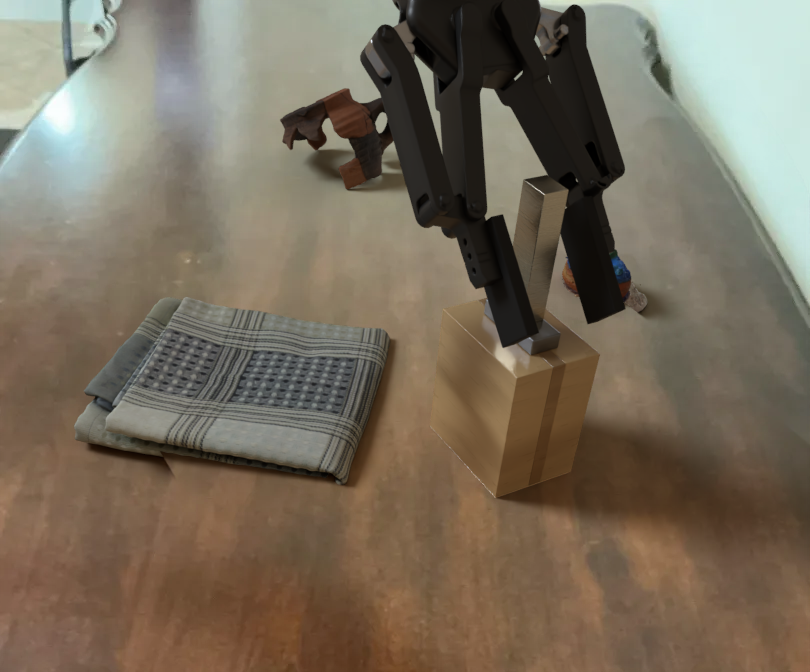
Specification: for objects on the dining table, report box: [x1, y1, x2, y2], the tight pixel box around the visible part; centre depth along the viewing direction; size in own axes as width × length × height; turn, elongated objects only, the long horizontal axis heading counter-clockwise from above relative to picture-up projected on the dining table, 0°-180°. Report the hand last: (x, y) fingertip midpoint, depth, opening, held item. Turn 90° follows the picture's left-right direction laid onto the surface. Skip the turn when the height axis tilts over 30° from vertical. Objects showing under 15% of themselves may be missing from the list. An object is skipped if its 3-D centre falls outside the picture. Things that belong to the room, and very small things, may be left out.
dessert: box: [561, 248, 648, 314], centre depth 81 cm, size 8×7×6 cm
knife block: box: [429, 297, 601, 499], centre depth 61 cm, size 8×6×10 cm
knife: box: [484, 174, 569, 355], centre depth 58 cm, size 5×2×18 cm, turn 30°
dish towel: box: [73, 296, 391, 486], centre depth 67 cm, size 19×18×3 cm
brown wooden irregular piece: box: [279, 87, 394, 190], centre depth 95 cm, size 12×10×8 cm
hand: (564, 327), depth 54 cm, fingers open, 5 cm apart
